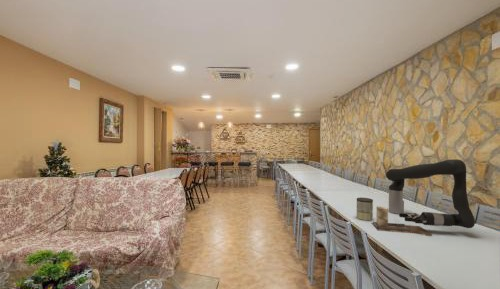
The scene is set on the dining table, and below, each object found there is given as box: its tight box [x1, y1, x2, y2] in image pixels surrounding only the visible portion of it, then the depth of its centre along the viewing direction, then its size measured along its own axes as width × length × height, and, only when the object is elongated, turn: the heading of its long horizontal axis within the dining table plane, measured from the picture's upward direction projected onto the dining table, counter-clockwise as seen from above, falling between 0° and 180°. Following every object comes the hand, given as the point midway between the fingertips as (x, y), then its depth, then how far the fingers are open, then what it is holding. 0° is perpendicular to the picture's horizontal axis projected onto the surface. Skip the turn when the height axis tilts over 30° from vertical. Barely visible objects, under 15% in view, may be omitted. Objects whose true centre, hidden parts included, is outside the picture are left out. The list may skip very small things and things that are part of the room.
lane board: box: [371, 221, 433, 237], centre depth 150 cm, size 28×15×2 cm, turn 78°
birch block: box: [375, 206, 389, 227], centre depth 152 cm, size 5×5×12 cm
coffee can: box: [356, 197, 374, 222], centre depth 169 cm, size 10×10×14 cm
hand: (402, 217), depth 150 cm, fingers open, 8 cm apart
